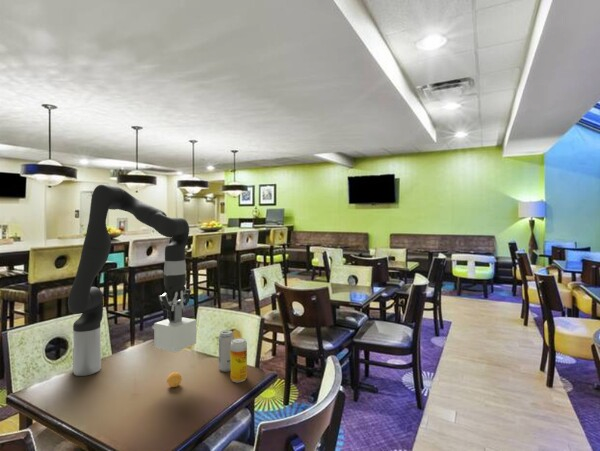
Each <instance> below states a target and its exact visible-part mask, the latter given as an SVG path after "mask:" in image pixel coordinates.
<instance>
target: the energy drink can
mask: <svg viewBox="0 0 600 451" xmlns="http://www.w3.org/2000/svg"><path fill="white" fill-rule="evenodd" d="M232 339H235V335H234V334H233V330H228V329H226V330H222V331H220V333H219V336H218V368H219V370H220V372H225V373H227V372H231V342H232Z"/></svg>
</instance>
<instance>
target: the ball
mask: <svg viewBox="0 0 600 451" xmlns="http://www.w3.org/2000/svg"><path fill="white" fill-rule="evenodd" d="M182 380H183V377H182V374H181V373H180V372H177V371H174V372H171V373H170V374H169V375H168V376H167V378H166V383H167V385H168V386H169V387H171V388H177V387H178V386H179V385H180V384H181V383H182Z"/></svg>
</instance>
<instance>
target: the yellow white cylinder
mask: <svg viewBox="0 0 600 451" xmlns="http://www.w3.org/2000/svg"><path fill="white" fill-rule="evenodd" d="M247 377H248V342H247V340H246V338H244V337H234V339H232V342H231V371H230V380H231V381H232V382H233V383H243V382H245V381H246V379H247Z"/></svg>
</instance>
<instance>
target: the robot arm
mask: <svg viewBox="0 0 600 451" xmlns="http://www.w3.org/2000/svg"><path fill="white" fill-rule="evenodd" d="M90 199H91V200H90V208H89V216H88V222H87V228H86V232H85V238H84V241H83V245H82V249H81V253H80V254H81V255H80V259H79V263H78V267H77V270H76V274H75V277H74V280H73V283H72V285H71V289H70V291H69V293H68V294H69V295H68V297H67V298H68V299H67V306H68V310H69V311H70V312H71V313H72V314H74V315H80V314H81V315H80V317H79V318H77V320H75V321H74V322H73V325H72V330H73V332H72V333H73V336H72V337H73V338H72V339H73V340H72V342H73V344H72V345H73V348H72V372H73V375H74V376H77V377H85V376H90V375H93V374H96V373H97V372H99V371H101V368H102V363H101V362H102V356H101V355H102V354H101V353H102V352H101V351H102V350H101V349H102V348H101V345H102V344H101V342H102V340H101V323H102V320H103V317H104V316H103V315H104V296H103V293H102V291H101V289H100V288H98V287H96V286H92V285H93V283H94V280H95V278H96V277H97V275H98V274H99V272H100V271H101V270H102V269H103V267H105V264H106V262H107V261H108V259H109V255H110V251H111V247H112V240H111V235H110V233H109V230H108V227H107V216H108V212H109V210H111V211H112V210H119V211H125V212H128V213H130V214H131V215H133V217H135V219H136V220H137V221H139V222H140V223H142V224H145V225H146V226H148V227H150V228H153V230H155V231H156V232H158V234H160V235H161V236H163V237H166V238H171V241H170V243H168V244H167V245H165V247H164V266H163V285H164V287H165V290H164V293H163V294H162V295H161V294H160V295H158V298H157V299H158V301H159V304H160V305H161V308H162V310H163V311H167V319H168V320H169V321H174V306H175V304H180V305H182V317H183V314H184V312H183V309H184V307H185V306H187V305H188V303H189V299H190V297H191V293H192V290H191V289H187V288H186V287H185V286H186V285H187V263H186V247H187V244H188V241H189V240H188V239H189V234H190V225H189V223H188V221H187V220H186V219H185V218H183V217H170V216H167V213H165V212H164V211H163V210H161V209H159V208H156V207H154V206H151V205H150V204H148V203H146V202H143V201H141V200H140V199H139V198H136V197H135V196H134V195H132V194H131V193H129V192H128V191H127V190H125V189H123V188H122V187H120V186H115V185H111V184H109V185H108V184H99V185H97V186H95V188H94V189H93V191H92V195H91V198H90Z"/></svg>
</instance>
